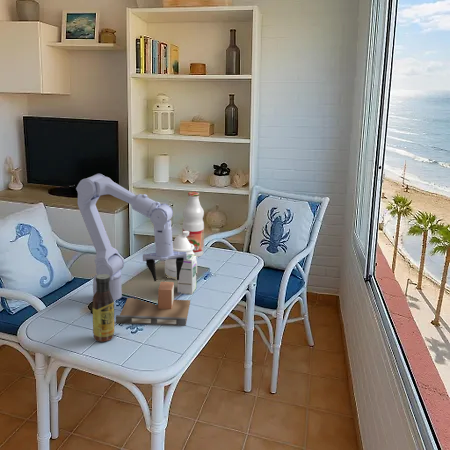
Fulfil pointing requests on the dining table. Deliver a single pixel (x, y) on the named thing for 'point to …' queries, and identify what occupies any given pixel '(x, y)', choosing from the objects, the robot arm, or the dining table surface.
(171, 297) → the tea tin
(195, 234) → the fruit juice
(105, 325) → the sauce bottle
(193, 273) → the syrup box
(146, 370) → the dining table surface
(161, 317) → the brown wooden pallet
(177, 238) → the honey pot
